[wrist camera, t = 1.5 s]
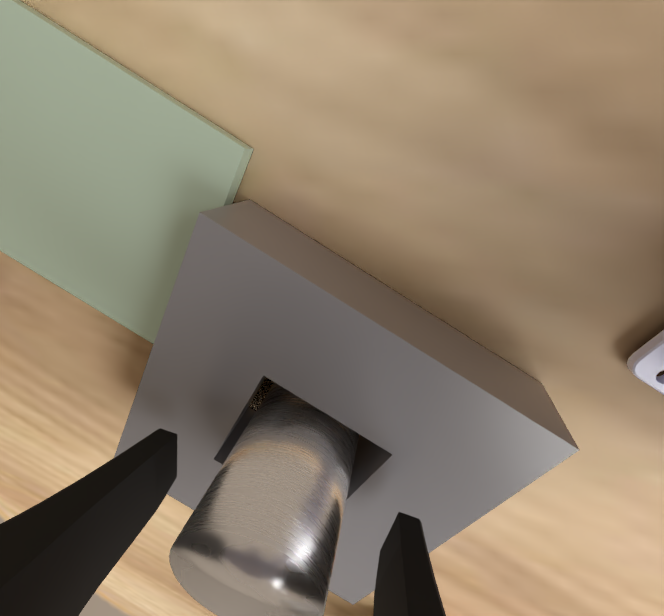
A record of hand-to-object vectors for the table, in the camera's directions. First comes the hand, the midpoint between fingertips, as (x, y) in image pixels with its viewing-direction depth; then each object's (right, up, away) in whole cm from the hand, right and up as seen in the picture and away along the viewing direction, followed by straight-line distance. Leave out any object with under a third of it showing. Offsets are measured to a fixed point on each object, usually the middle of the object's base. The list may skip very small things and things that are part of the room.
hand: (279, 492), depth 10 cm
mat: (-7, +10, +2) cm, 12 cm away
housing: (+1, +2, +4) cm, 4 cm away
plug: (+1, +2, +4) cm, 4 cm away
